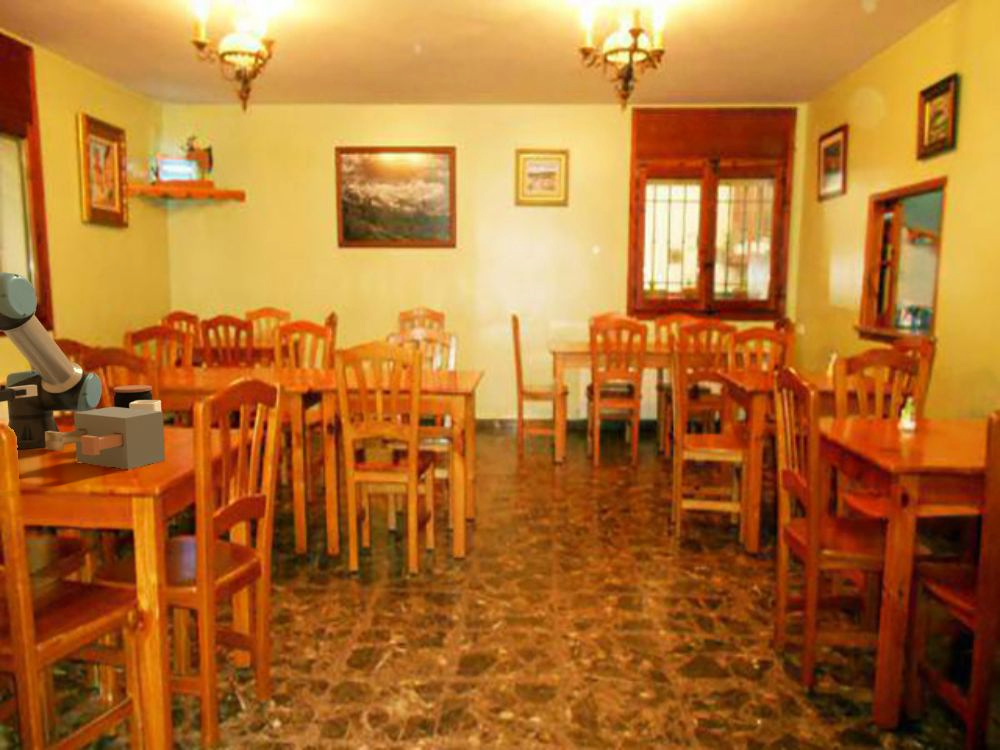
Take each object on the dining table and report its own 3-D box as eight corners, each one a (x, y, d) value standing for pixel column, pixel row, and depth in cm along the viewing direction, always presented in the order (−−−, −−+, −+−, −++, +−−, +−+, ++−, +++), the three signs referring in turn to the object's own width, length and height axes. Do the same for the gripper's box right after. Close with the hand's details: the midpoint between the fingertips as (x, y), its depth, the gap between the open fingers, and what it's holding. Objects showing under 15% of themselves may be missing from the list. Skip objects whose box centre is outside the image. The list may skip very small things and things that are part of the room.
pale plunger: (45, 448, 194) (44, 431, 193) (89, 440, 205) (88, 424, 205) (57, 450, 192) (56, 433, 192) (100, 441, 203) (99, 425, 203)
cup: (140, 448, 222) (137, 400, 220) (164, 448, 222) (162, 399, 220) (129, 453, 214) (127, 403, 213) (155, 453, 215) (152, 403, 213)
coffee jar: (153, 446, 224) (150, 388, 222) (114, 449, 220) (111, 390, 218) (155, 440, 234) (153, 384, 232) (118, 442, 230) (115, 385, 228)
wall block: (77, 462, 203) (73, 412, 201) (115, 454, 214) (112, 406, 212) (128, 469, 195) (125, 418, 193) (165, 460, 206) (162, 411, 204)
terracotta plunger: (81, 453, 188) (80, 436, 188) (124, 444, 200) (123, 428, 199) (94, 455, 186) (93, 437, 186) (136, 446, 198) (135, 429, 197)
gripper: (-83, 416, 170) (19, 402, 191) (-48, 420, 164) (53, 406, 186) (-86, 384, 169) (17, 374, 190) (-51, 387, 164) (51, 376, 185)
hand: (34, 390), depth 188 cm, fingers closed
